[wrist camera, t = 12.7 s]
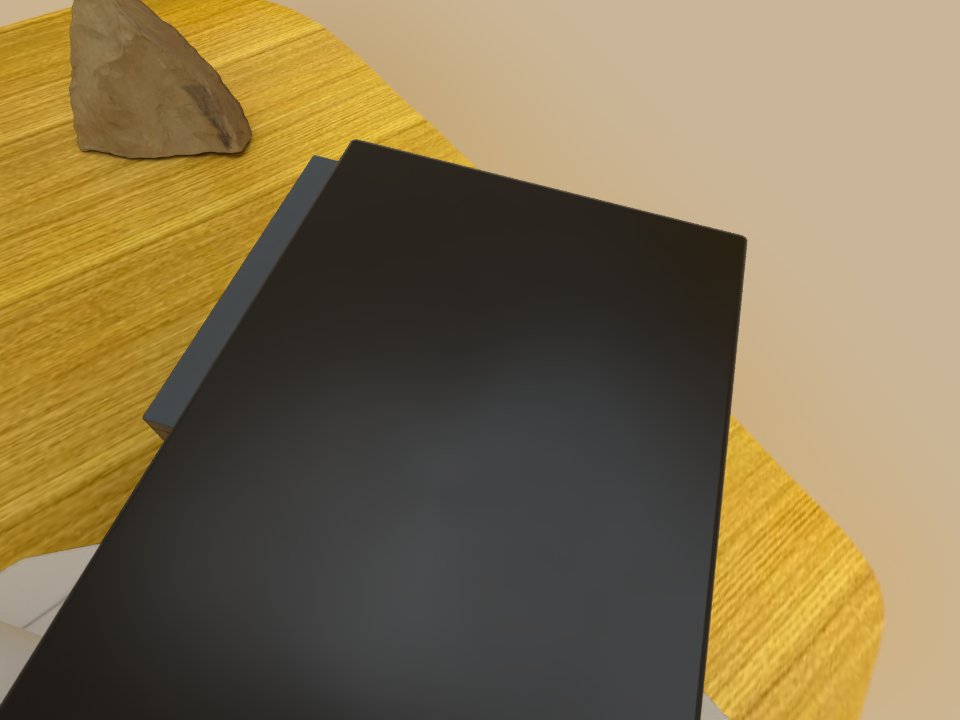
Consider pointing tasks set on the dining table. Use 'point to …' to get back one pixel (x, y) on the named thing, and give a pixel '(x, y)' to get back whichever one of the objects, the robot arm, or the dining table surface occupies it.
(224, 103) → the rock
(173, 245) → the dining table surface
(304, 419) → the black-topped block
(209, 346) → the cabinet
